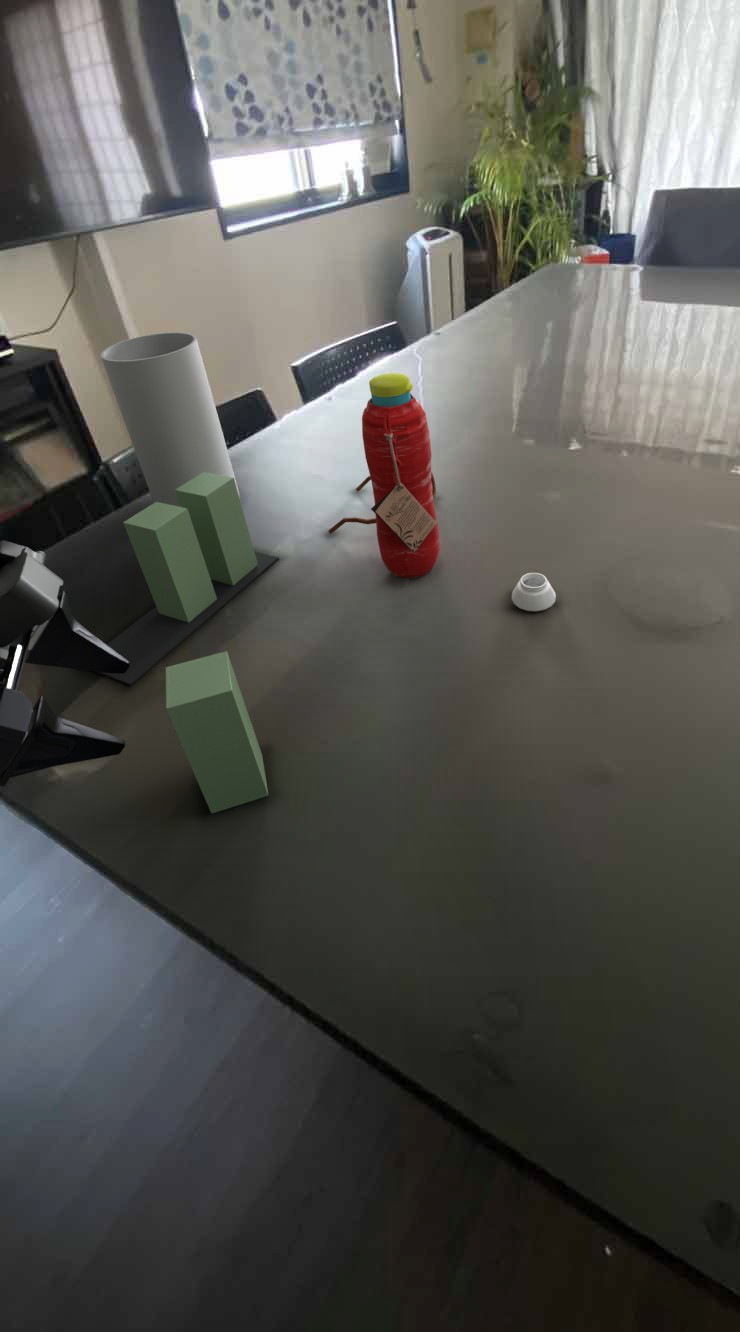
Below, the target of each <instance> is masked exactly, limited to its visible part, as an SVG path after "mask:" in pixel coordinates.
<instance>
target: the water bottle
mask: <svg viewBox="0 0 740 1332" xmlns="http://www.w3.org/2000/svg"><path fill="white" fill-rule="evenodd" d="M368 384H369V391H370V394H371V395H370V396H371V398H369V399H368V400H367V404H366V407H364V409H363V412H362V415H361V431H362V434H361V435H362V443H363V450H364V456H365V461H366V465H367V469H368V474H369V476H370V477H371V480H370V482H371V487H372V493H373V498H374V499H373V500H374V505H373V506H372V507H371V508H370V510H371V512H373V513H374V514H375V518H376V523H375V525H376V526H375V527H376V537H377V538H376V539H377V544H378V549H379V553H380V557H381V561H382V562H383V564H384V565H385V566H386V569H387V571H389V572H390V573H392V574H393V575H394V576H396V577H397V578H405V579H413V578H418V577H422V576H424V575H426V574H428V573H429V572H432V569H434V566H435V565H436V562H437V560H438V557H439V554H440V551H441V547H440V531H439V526H438V520H437V515H436V514H437V513H436V508H435V502H434V500H433V495H432V482H431V471H432V447H431V435H430V429H429V425H428V420H427V414H426V412H425V410H424V409H423V407H422V405H421V402H420V401H419V400H417V399H416V397H415V395H414V394H413V393H411V392H412V390H413V388H414V386H413V383H411V380H410V378H409V376H408V375H407V374H404V373H401V372H389V373H381V374H379V375H376V376H373V377H372V378H371V379H370V380H369V382H368Z"/></svg>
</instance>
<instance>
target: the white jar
mask: <svg viewBox="0 0 740 1332" xmlns="http://www.w3.org/2000/svg"><path fill="white" fill-rule="evenodd" d="M556 596H557V593H556V592H555V590H554V588H553V587H552V585H551V583H550V581H549V580H548V579H547V577H546V576H545V575H544V574H542V573H539V572H528V573H526V574H523V575H522V576H521V577H520V579H519V581H518V582H517V583H516V584H515V587H514V589H513V590H512V593H511V601H512V603H513V605H514V606H516V607H517V608H519V609H521V610H524V611H527V612H539V611H545V610H548V608H551V607H552V606H553V605H554V604H555V602H556V599H557V597H556Z"/></svg>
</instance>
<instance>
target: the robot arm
mask: <svg viewBox="0 0 740 1332" xmlns="http://www.w3.org/2000/svg"><path fill="white" fill-rule="evenodd" d="M46 561H47V555H46V553H45V552H44V551H41V550H34V551H33V550H32V549H31V548H29V547H28V546H25V545H20V544H18V543H13V542H10V541H7V540H4V539H2V540H1V541H0V788H5V786H6V785H7V783H8V782H9V781H10V779H11V778H15V777H19V776H22V775H23V776H24V775H26V774H27V775H28V774H30V773H34V772H38V771H41V770H45V769H49V768H54V767H59V766H65V765H69V764H75V763H79V762H84V761H91V760H96V759H102V758H107V757H113V756H118V755H120V754H121V753H122V751H124V749H125V747H126V741H125V740H124V739H122V738H119V737H117V736H115V735H113V734H110V733H107V732H105V731H102V730H99V729H96V728H93V727H90V726H87V725H84V724H81V723H78V722H76V721H72V720H70V719H69V720H68V719H66V718H63V717H60V716H58V715H57V714H56V713H55V712H54V710H53V709H52V707H51V706H50V704H49V703H48V701H47V700H46V698H45V697H44V696H42V695H40V697H39V698H38V699H37V701H36V703H35V705H34V703H33V702H32V701H31V700H30V699H29V698H28V697H27V696H26V695H25V693H24V692H23V691H19V690H18V689H19V685H20V681H21V677H22V673H23V670H24V665H25V663H26V664H32V665H38V666H46V667H55V668H63V669H64V668H65V669H69V670H70V669H71V670H79V671H86V672H95V673H97V672H102V673H118V674H124V673H125V672H126V671H127V670H128V668H129V667H130V662H129V661H128V660H127V659H125V658H124V657H123V656H121V655H120V654H118V653H117V652H116V651H114V650H113V649H112V648H110V647H109V646H108V645H107V643H105V642H103V640H101V639H100V638H98V637H97V636H96V635H95V634H93V633H92V632H90V631H89V630H88V629H87V628H86V627H84V626H83V625H82V624H81V623H80V622H79V621H77V619H75V617H74V615H73V613H72V612H73V611H72V610H71V607H70V605H69V601H68V594H67V592H66V590H61V592H60V589H61V588H62V587H63V586H64V580H63V579H62V578H61V577H59V576H58V575H57V574H56V573H54V572H53V571H51V570H50V569H49V568H48V567H47V566H45V564H46Z"/></svg>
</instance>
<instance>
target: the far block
mask: <svg viewBox="0 0 740 1332" xmlns="http://www.w3.org/2000/svg"><path fill="white" fill-rule="evenodd" d="M237 487H238V486H237ZM237 487H236V484H235V480H234V478H233V477H228V476H222V475H217V474H212V473H206V472H203V473H201V474H200V475H198V476H196V477H195V478H193V479H192V480H190V481H188V482H187V483H185V484H184V485H182V486H180V487H179V488H177V489H176V490H175V492H176V495H177V498H178V501H179V504H180V507H182V508H186V509H188V512H189V515H190V519H191V522H192V525H193V528H194V531H195V534H196V537H197V540H198V543H199V546H200V549H201V552H202V555H203V558H204V561H205V564H206V567H207V570H208V573H209V576H210V579H211V580H215V581H218V582H222V583H226V584H229V585H235V584H236V583H237V582H238V581H239V580H241V579H242V578H243V577H244V576H245V575H247V574H248V573H249V572H250V571H251V570H253V569H254V568H255V567H256V566H257V565H258V563H257V560H256V556H255V552H256V551H255V549H254V546H253V542H252V539H251V535H250V532H249V527H248V524H247V520H246V516H245V513H244V510H243V506H242V502H241V498H240V497H239V495H240V494H239V495H238V491H237Z"/></svg>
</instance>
